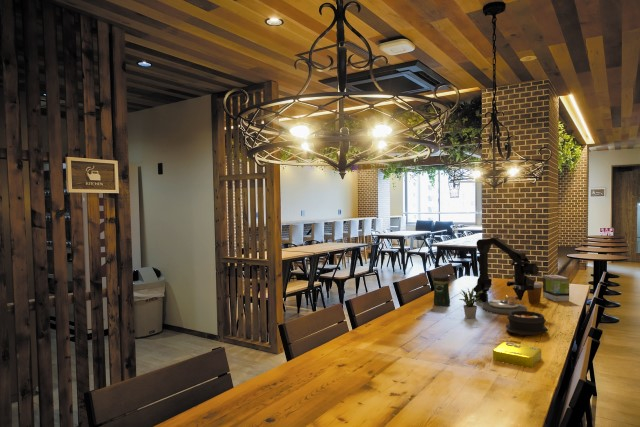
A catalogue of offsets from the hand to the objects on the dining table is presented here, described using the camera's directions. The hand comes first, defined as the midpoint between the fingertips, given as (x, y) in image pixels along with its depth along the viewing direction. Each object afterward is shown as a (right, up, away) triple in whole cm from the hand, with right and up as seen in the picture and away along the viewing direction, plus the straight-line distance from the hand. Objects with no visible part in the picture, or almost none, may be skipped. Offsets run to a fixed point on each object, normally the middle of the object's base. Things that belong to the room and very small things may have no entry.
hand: (520, 300), depth 256 cm
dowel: (-4, -3, +8) cm, 10 cm away
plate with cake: (-8, -3, 0) cm, 9 cm away
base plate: (-10, -5, 0) cm, 11 cm away
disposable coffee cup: (+16, -5, +17) cm, 24 cm away
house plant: (-35, -6, -18) cm, 40 cm away
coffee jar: (-42, -6, +15) cm, 45 cm away
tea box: (+35, -5, +26) cm, 43 cm away
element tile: (-39, -8, -82) cm, 91 cm away
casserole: (-18, -6, -45) cm, 49 cm away
